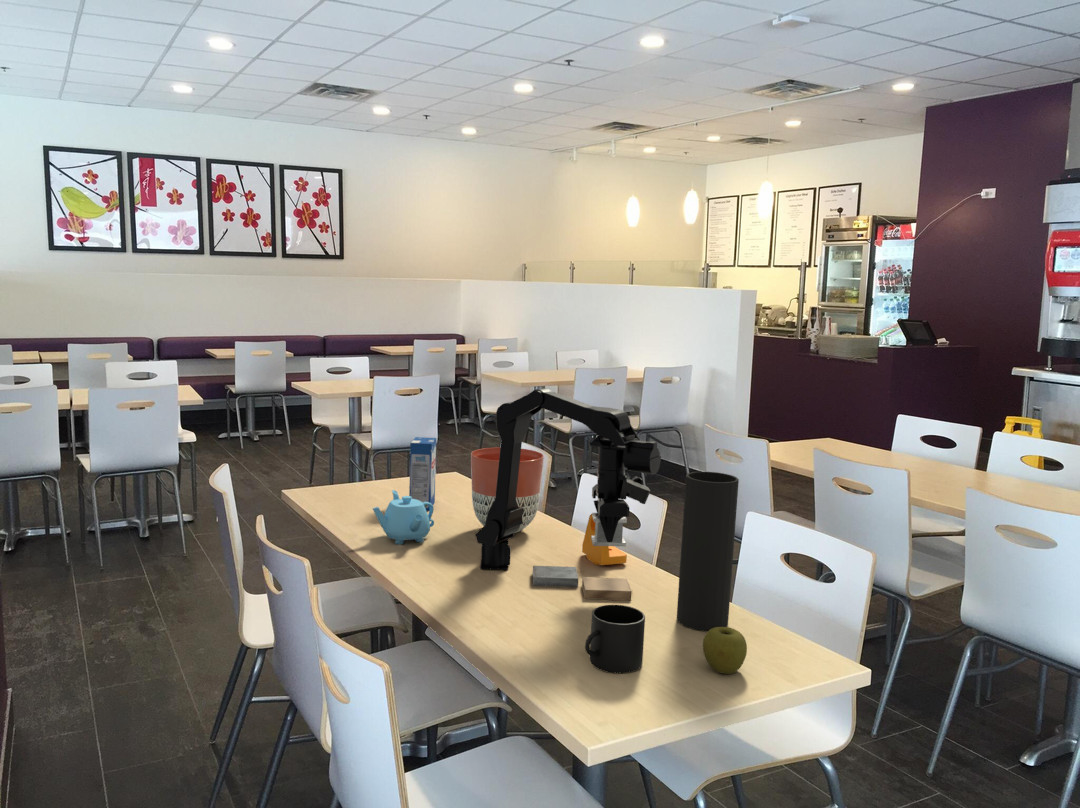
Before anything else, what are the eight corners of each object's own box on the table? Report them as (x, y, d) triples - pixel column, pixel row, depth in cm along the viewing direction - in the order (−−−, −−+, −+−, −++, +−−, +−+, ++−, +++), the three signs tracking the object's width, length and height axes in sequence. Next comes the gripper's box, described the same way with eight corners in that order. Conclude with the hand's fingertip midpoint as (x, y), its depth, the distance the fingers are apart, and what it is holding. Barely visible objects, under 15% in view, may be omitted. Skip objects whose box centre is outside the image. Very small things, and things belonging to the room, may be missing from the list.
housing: (593, 545, 182) (594, 518, 181) (591, 539, 187) (592, 512, 186) (625, 546, 182) (626, 519, 182) (622, 539, 187) (623, 513, 187)
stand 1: (533, 585, 189) (533, 577, 188) (532, 573, 197) (532, 565, 196) (577, 587, 189) (578, 578, 189) (575, 575, 197) (575, 566, 197)
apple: (738, 660, 154) (741, 623, 153) (750, 680, 146) (753, 641, 145) (697, 659, 154) (699, 621, 153) (707, 679, 146) (710, 640, 145)
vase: (666, 618, 173) (675, 474, 169) (700, 608, 179) (710, 469, 175) (703, 635, 165) (714, 484, 161) (738, 625, 171) (749, 479, 167)
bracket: (627, 566, 206) (630, 517, 204) (600, 568, 203) (603, 519, 201) (607, 552, 215) (610, 506, 214) (581, 555, 213) (584, 508, 211)
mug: (567, 662, 151) (569, 613, 149) (617, 647, 158) (620, 600, 157) (602, 682, 143) (604, 631, 142) (653, 666, 150) (656, 617, 149)
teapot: (365, 542, 216) (366, 498, 214) (392, 528, 228) (393, 487, 227) (419, 550, 211) (420, 506, 209) (443, 536, 223) (444, 494, 222)
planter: (554, 536, 228) (558, 457, 225) (492, 546, 217) (495, 464, 214) (515, 518, 244) (517, 445, 241) (455, 527, 232) (457, 450, 230)
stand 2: (584, 598, 182) (585, 589, 182) (582, 585, 190) (582, 577, 190) (631, 600, 182) (631, 591, 182) (626, 587, 190) (626, 578, 190)
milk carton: (430, 510, 248) (431, 443, 245) (408, 510, 248) (410, 442, 246) (434, 502, 258) (436, 437, 255) (414, 501, 258) (415, 437, 255)
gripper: (655, 478, 174) (651, 552, 176) (642, 460, 192) (638, 527, 194) (601, 477, 173) (598, 551, 175) (593, 459, 192) (590, 526, 194)
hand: (608, 538), depth 185 cm, fingers closed on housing, 5 cm apart
